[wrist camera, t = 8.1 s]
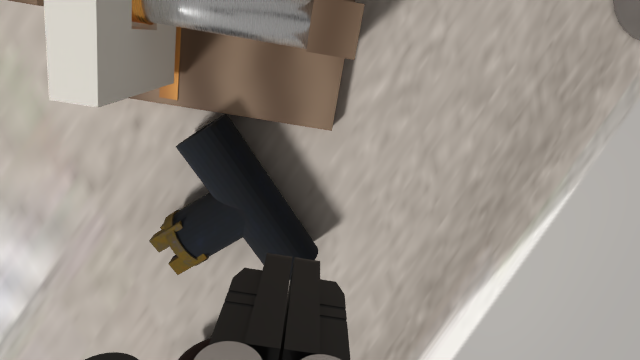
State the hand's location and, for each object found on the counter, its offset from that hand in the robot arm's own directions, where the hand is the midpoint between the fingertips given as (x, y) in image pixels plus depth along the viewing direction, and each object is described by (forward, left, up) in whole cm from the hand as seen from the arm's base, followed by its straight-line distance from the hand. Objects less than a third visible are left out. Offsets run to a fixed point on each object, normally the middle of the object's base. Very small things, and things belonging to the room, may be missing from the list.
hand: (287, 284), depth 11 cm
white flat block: (+12, -7, -24) cm, 28 cm away
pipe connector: (+6, +10, -27) cm, 29 cm away
